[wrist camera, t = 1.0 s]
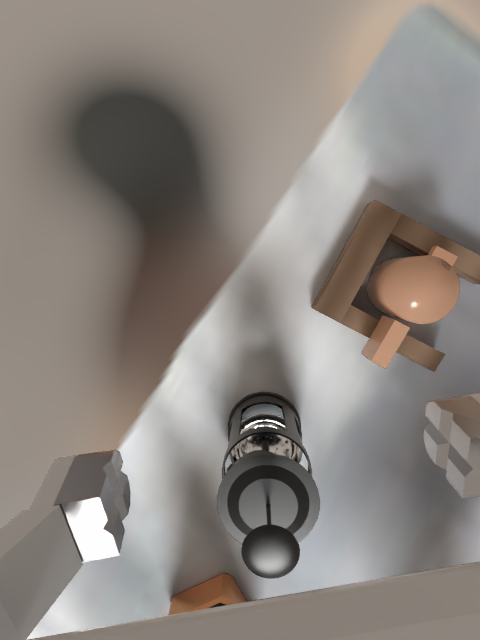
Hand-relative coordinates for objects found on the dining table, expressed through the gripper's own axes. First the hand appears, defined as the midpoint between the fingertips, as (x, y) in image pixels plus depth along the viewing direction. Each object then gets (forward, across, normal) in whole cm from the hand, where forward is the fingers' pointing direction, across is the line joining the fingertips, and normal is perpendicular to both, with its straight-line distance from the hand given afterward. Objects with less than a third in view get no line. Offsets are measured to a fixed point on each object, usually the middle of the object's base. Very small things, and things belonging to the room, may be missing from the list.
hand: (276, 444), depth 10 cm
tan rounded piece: (+35, +19, -11) cm, 41 cm away
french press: (+33, +2, -26) cm, 42 cm away
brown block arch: (+35, +21, -9) cm, 42 cm away
